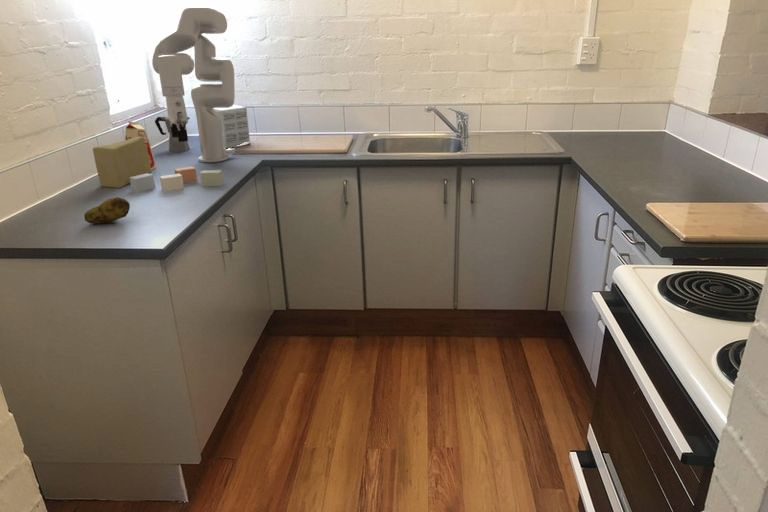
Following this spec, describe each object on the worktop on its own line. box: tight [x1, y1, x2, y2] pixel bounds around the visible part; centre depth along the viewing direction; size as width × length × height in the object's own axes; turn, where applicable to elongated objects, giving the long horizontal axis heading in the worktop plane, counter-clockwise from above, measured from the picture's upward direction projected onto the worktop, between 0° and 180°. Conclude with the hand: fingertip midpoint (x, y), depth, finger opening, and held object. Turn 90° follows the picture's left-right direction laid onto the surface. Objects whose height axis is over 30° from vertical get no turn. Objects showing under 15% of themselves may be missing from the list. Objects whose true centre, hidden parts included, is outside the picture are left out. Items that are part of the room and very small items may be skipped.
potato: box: [83, 196, 131, 225], centre depth 173 cm, size 8×13×8 cm, turn 78°
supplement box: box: [213, 103, 251, 149], centre depth 275 cm, size 17×13×18 cm
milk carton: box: [124, 120, 157, 171], centre depth 231 cm, size 9×9×20 cm
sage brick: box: [199, 169, 224, 187], centre depth 212 cm, size 7×4×5 cm, turn 92°
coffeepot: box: [154, 116, 191, 153], centre depth 263 cm, size 15×9×18 cm, turn 103°
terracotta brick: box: [174, 165, 198, 184], centre depth 217 cm, size 7×4×5 cm, turn 122°
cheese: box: [92, 137, 152, 189], centre depth 217 cm, size 22×10×15 cm, turn 161°
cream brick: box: [159, 173, 185, 193], centre depth 207 cm, size 7×4×5 cm, turn 122°
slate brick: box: [130, 173, 156, 193], centre depth 207 cm, size 7×4×5 cm, turn 142°
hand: (180, 139), depth 211 cm, fingers open, 9 cm apart
